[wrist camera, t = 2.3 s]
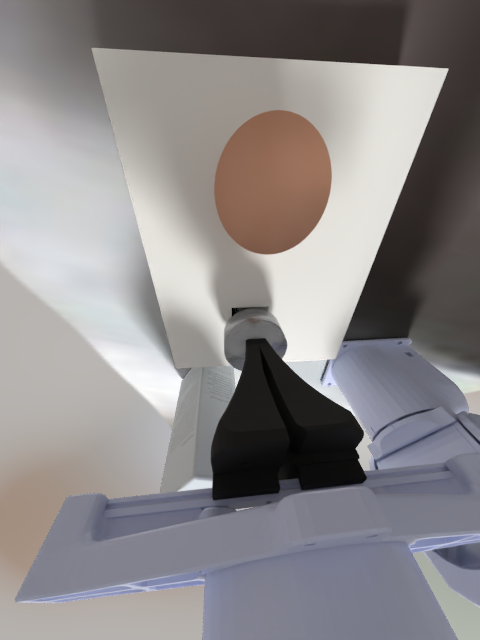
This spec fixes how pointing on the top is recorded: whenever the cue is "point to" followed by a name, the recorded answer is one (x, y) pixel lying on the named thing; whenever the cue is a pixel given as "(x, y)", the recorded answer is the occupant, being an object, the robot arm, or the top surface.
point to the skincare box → (196, 427)
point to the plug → (251, 334)
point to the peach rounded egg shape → (272, 182)
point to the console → (199, 177)
